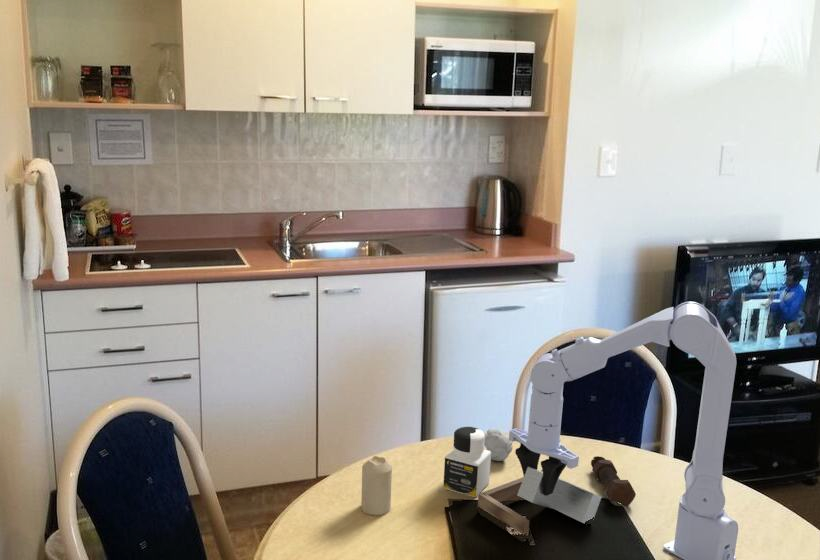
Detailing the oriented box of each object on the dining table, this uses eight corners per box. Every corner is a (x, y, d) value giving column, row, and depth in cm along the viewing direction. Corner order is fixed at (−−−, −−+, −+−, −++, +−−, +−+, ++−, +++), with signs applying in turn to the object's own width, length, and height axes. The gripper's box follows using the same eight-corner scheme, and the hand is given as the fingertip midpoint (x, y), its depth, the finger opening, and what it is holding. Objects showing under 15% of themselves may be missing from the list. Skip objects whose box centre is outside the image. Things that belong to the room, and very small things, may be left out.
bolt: (599, 478, 164) (623, 513, 149) (580, 467, 163) (602, 501, 148) (615, 456, 163) (640, 489, 148) (595, 445, 162) (619, 477, 148)
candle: (364, 517, 142) (365, 467, 139) (358, 502, 147) (359, 454, 145) (393, 514, 143) (395, 464, 141) (386, 499, 148) (388, 451, 146)
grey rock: (476, 455, 168) (478, 425, 166) (506, 452, 170) (508, 423, 168) (486, 468, 162) (488, 437, 161) (517, 465, 164) (519, 434, 163)
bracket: (560, 516, 133) (571, 486, 134) (517, 495, 140) (527, 466, 141) (591, 525, 142) (601, 497, 143) (549, 504, 148) (559, 477, 149)
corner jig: (594, 511, 147) (596, 492, 146) (523, 543, 135) (524, 522, 134) (547, 485, 156) (549, 467, 155) (477, 513, 145) (478, 493, 144)
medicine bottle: (442, 488, 153) (445, 433, 150) (457, 474, 159) (460, 420, 156) (475, 498, 150) (479, 441, 147) (489, 483, 156) (493, 428, 153)
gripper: (591, 428, 136) (584, 498, 139) (528, 402, 146) (523, 467, 149) (567, 438, 131) (560, 510, 134) (503, 411, 142) (498, 478, 145)
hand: (539, 489), depth 142 cm, fingers closed on bracket, 4 cm apart
